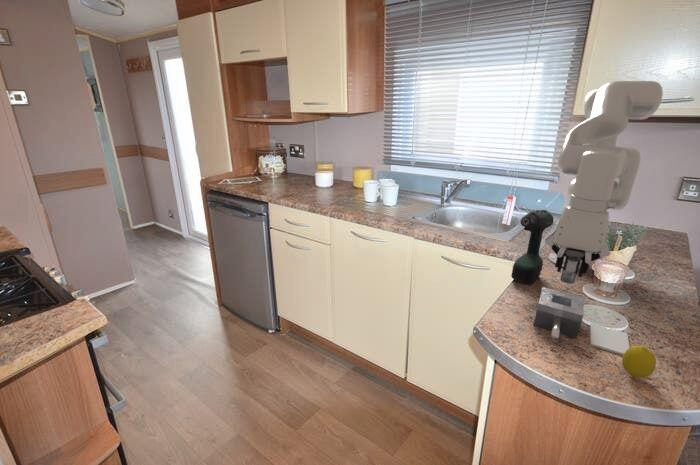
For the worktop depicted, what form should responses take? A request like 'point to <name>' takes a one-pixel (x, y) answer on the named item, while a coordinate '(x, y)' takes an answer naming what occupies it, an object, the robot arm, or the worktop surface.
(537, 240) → the power drill
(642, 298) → the worktop surface
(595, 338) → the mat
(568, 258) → the dark gray knob
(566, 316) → the block
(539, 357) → the worktop surface
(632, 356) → the lemon
